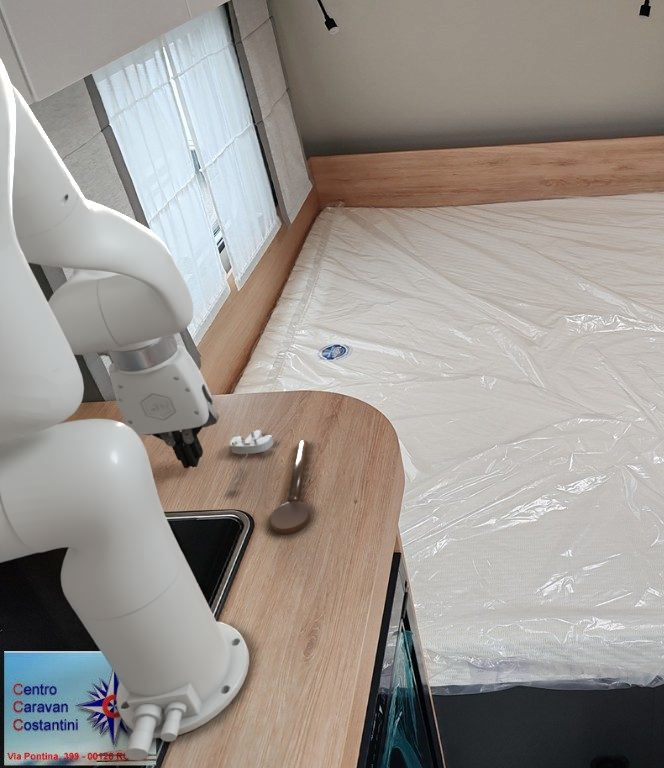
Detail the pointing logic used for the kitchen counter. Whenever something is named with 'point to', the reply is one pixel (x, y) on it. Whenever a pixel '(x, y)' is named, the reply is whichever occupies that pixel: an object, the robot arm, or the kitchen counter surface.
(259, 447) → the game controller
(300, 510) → the spoon
